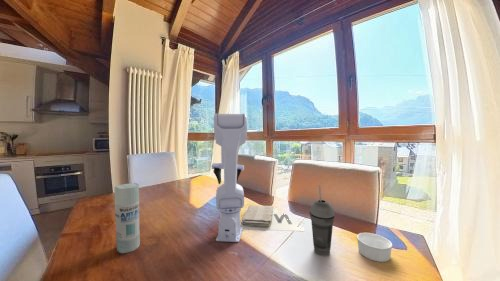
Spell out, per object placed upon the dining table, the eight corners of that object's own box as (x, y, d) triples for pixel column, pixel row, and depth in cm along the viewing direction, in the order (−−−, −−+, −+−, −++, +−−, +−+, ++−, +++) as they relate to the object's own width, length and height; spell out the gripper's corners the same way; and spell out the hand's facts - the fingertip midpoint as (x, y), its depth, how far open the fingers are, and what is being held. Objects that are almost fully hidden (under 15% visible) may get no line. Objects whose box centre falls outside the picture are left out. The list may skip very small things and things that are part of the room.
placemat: (304, 231, 71) (304, 231, 71) (240, 229, 73) (240, 228, 73) (296, 209, 92) (296, 209, 92) (246, 208, 94) (246, 207, 94)
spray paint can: (135, 239, 66) (134, 182, 66) (143, 246, 62) (142, 185, 62) (113, 248, 61) (111, 186, 61) (120, 256, 57) (118, 189, 57)
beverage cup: (318, 260, 54) (318, 190, 54) (304, 246, 61) (304, 184, 61) (340, 256, 56) (340, 188, 56) (324, 242, 63) (324, 182, 63)
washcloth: (240, 226, 75) (240, 219, 75) (248, 209, 92) (248, 202, 92) (271, 229, 73) (271, 220, 73) (273, 210, 91) (273, 204, 90)
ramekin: (350, 246, 61) (350, 232, 61) (377, 244, 62) (377, 231, 62) (369, 264, 53) (370, 249, 52) (400, 263, 53) (400, 247, 53)
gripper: (245, 153, 89) (244, 180, 92) (214, 152, 90) (215, 178, 94) (242, 159, 82) (242, 187, 85) (209, 157, 83) (210, 185, 87)
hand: (227, 183), depth 89 cm, fingers open, 7 cm apart
